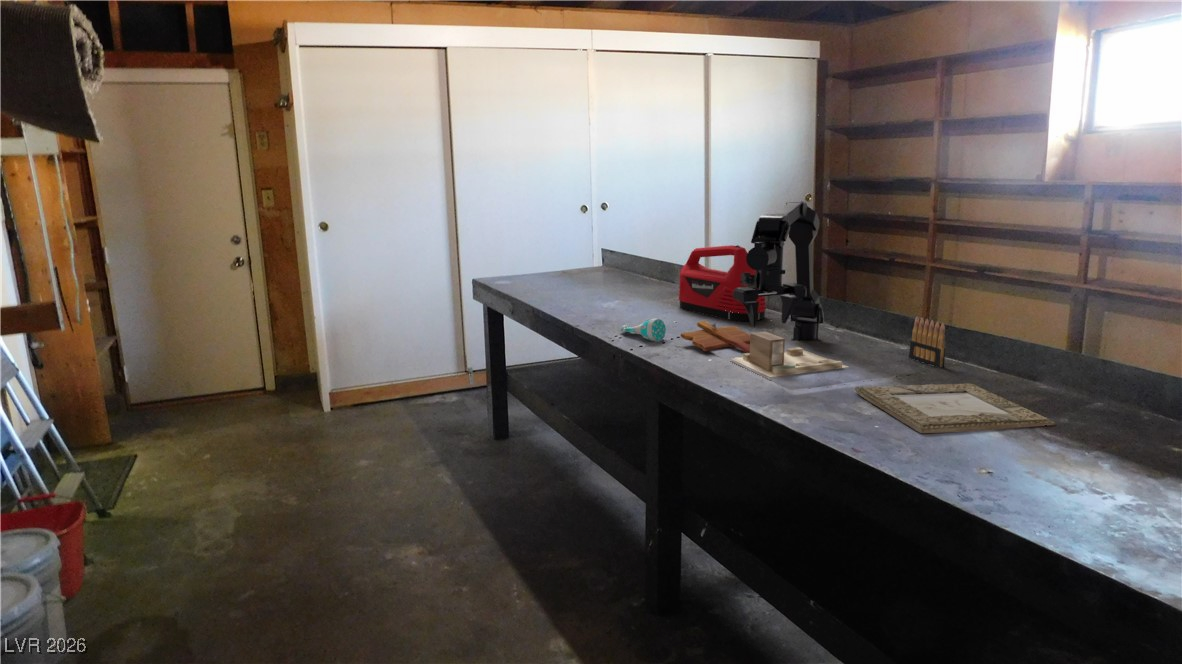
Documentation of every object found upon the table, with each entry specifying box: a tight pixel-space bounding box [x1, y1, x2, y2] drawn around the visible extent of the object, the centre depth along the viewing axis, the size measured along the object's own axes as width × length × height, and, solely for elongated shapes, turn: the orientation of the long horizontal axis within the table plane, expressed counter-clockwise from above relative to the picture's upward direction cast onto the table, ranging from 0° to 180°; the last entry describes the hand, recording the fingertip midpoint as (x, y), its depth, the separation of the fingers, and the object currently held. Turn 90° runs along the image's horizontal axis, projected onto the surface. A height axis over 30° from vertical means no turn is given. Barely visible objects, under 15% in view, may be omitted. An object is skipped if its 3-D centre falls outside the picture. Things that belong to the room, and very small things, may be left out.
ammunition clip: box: [908, 316, 946, 368], centre depth 195 cm, size 11×2×12 cm, turn 21°
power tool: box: [678, 244, 767, 322], centre depth 264 cm, size 16×40×25 cm, turn 33°
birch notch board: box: [729, 346, 849, 382], centre depth 194 cm, size 24×19×3 cm
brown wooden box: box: [749, 331, 786, 371], centre depth 191 cm, size 4×9×8 cm, turn 20°
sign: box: [679, 320, 750, 353], centre depth 213 cm, size 20×6×30 cm
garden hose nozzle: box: [620, 317, 666, 343], centre depth 232 cm, size 7×18×20 cm
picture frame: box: [854, 382, 1056, 434], centre depth 161 cm, size 27×30×3 cm
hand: (768, 324), depth 190 cm, fingers open, 9 cm apart
